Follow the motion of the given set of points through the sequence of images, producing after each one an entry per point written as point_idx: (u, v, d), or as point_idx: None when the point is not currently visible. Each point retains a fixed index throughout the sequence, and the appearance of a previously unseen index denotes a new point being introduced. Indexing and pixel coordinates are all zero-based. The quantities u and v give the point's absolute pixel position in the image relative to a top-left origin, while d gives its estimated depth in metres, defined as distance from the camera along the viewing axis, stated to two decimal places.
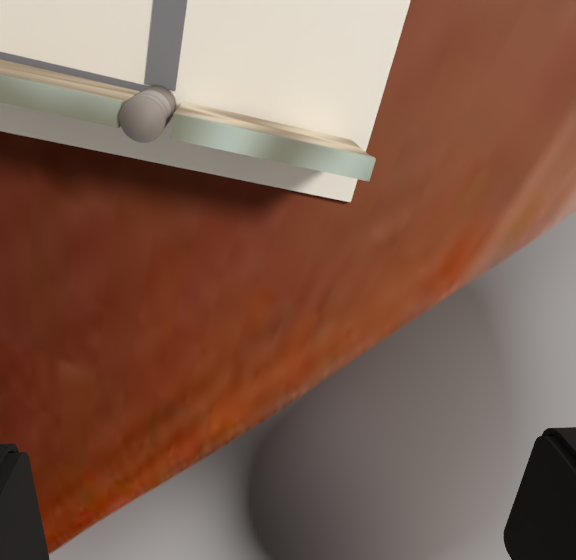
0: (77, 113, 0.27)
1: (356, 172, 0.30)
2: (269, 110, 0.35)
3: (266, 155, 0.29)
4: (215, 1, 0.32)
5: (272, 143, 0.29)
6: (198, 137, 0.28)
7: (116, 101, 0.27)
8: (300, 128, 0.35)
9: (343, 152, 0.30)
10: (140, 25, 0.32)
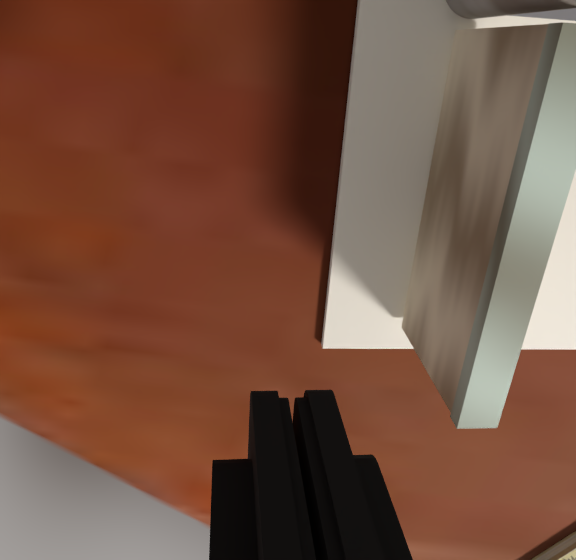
0: None
1: (473, 405, 0.16)
2: None
3: (512, 246, 0.14)
4: None
5: (535, 253, 0.14)
6: (560, 94, 0.12)
7: None
8: None
9: (510, 377, 0.16)
10: None
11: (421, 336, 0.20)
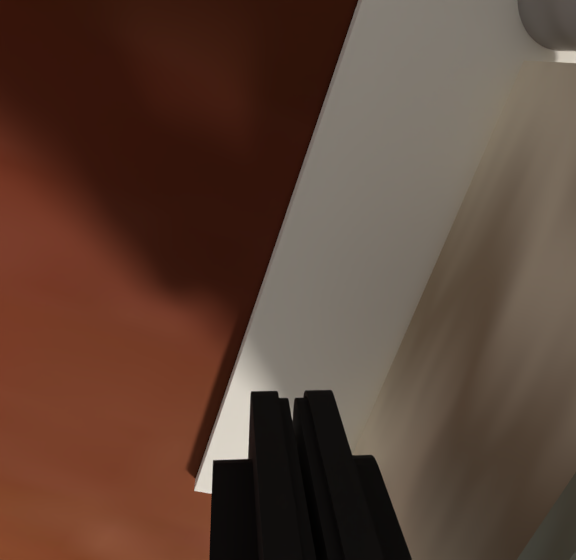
0: None
1: None
2: None
3: None
4: None
5: None
6: None
7: None
8: None
9: None
10: None
11: None
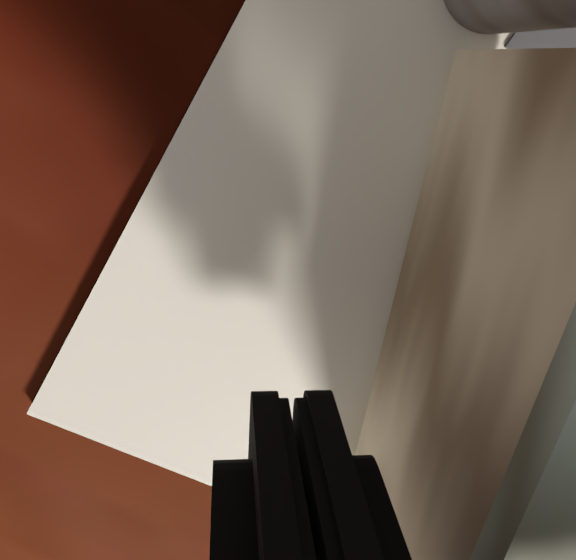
0: None
1: None
2: (338, 284, 0.13)
3: (543, 506, 0.07)
4: None
5: None
6: None
7: None
8: None
9: None
10: None
11: None
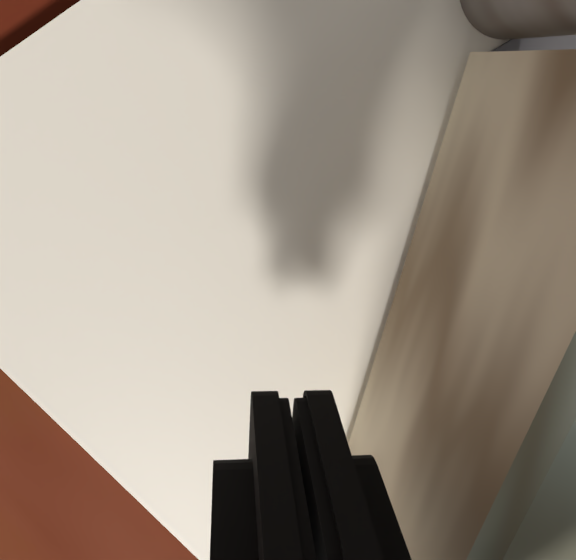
0: None
1: None
2: (241, 209, 0.12)
3: (550, 496, 0.07)
4: None
5: None
6: None
7: None
8: None
9: None
10: None
11: None
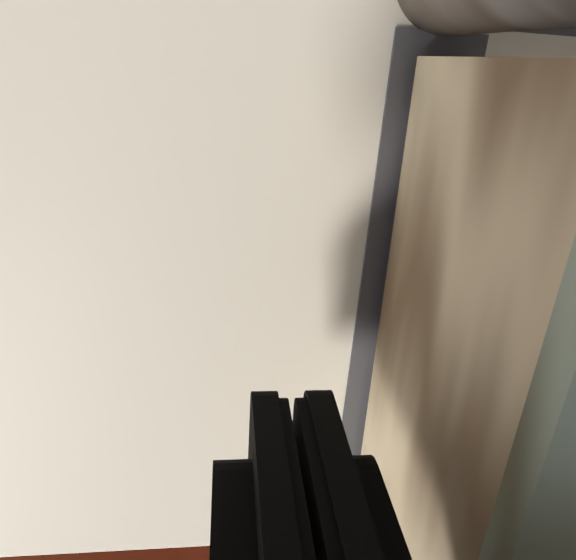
0: None
1: None
2: (65, 8, 0.09)
3: (537, 528, 0.06)
4: (293, 284, 0.12)
5: None
6: None
7: None
8: None
9: None
10: None
11: None
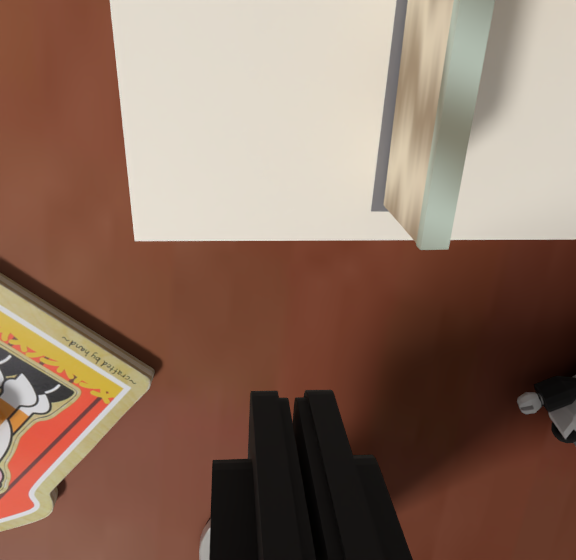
0: None
1: (430, 231, 0.23)
2: None
3: (448, 107, 0.21)
4: (355, 82, 0.27)
5: (464, 112, 0.21)
6: None
7: None
8: None
9: (454, 208, 0.23)
10: None
11: (396, 202, 0.27)
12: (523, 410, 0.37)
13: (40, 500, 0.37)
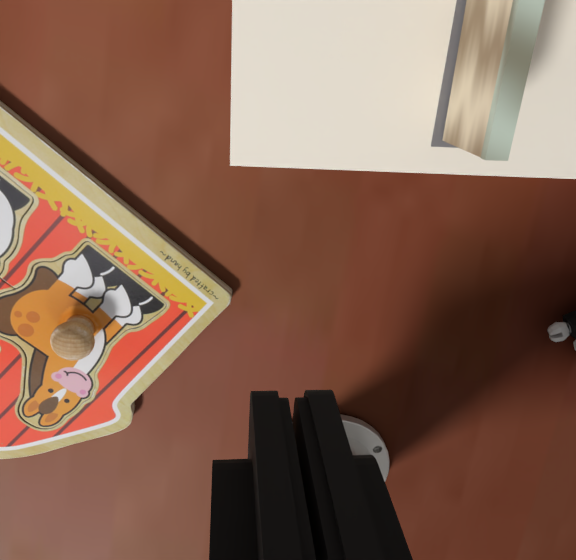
0: None
1: (494, 144, 0.28)
2: None
3: (515, 35, 0.26)
4: (425, 30, 0.32)
5: (528, 40, 0.26)
6: None
7: None
8: None
9: (515, 124, 0.28)
10: None
11: (458, 132, 0.32)
12: (553, 338, 0.42)
13: (122, 411, 0.41)
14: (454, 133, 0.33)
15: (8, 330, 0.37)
